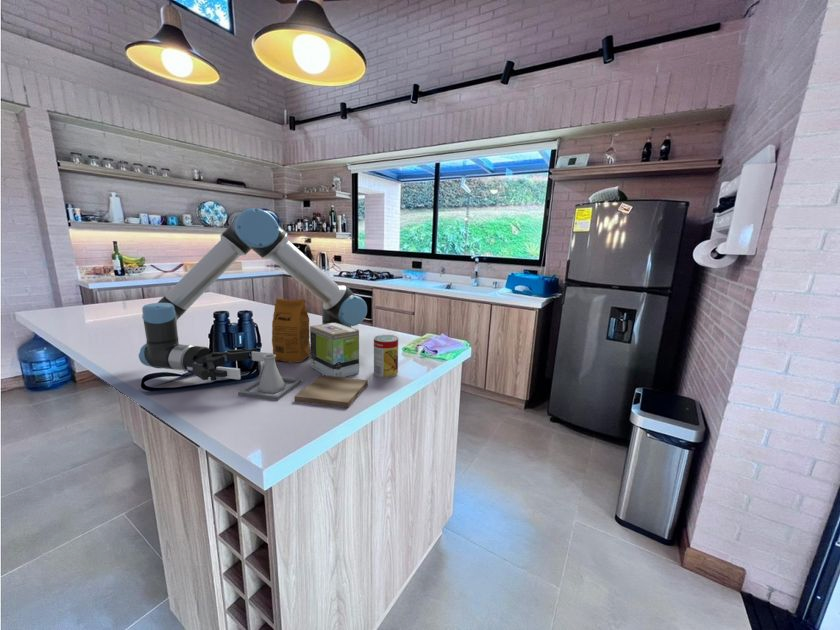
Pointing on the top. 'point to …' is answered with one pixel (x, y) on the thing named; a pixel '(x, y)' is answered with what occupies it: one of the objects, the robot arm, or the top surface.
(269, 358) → the flask
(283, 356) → the coffee package
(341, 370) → the tea box
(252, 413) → the top surface
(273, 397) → the grey square frame
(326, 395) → the walnut board
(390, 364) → the canned food
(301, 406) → the top surface
